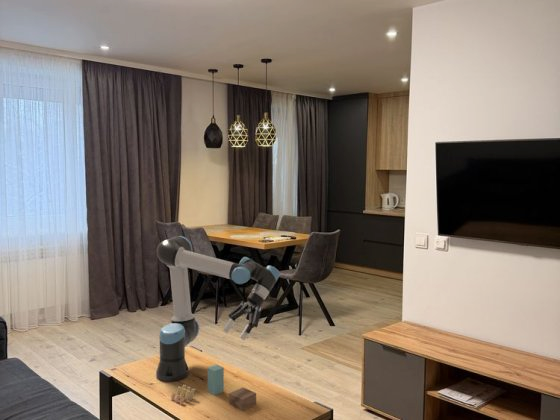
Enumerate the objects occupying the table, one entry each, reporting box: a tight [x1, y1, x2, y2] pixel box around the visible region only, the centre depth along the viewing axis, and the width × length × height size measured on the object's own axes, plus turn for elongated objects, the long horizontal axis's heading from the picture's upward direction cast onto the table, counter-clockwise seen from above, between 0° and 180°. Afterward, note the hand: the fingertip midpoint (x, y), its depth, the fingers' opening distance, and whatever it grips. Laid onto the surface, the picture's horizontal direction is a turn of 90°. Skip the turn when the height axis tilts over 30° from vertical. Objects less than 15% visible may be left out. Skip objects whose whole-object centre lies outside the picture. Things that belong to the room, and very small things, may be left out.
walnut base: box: [228, 386, 257, 411], centre depth 206 cm, size 8×8×5 cm
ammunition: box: [170, 384, 196, 406], centre depth 209 cm, size 5×7×8 cm
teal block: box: [207, 364, 225, 396], centre depth 217 cm, size 5×5×11 cm
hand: (233, 335), depth 221 cm, fingers open, 13 cm apart
